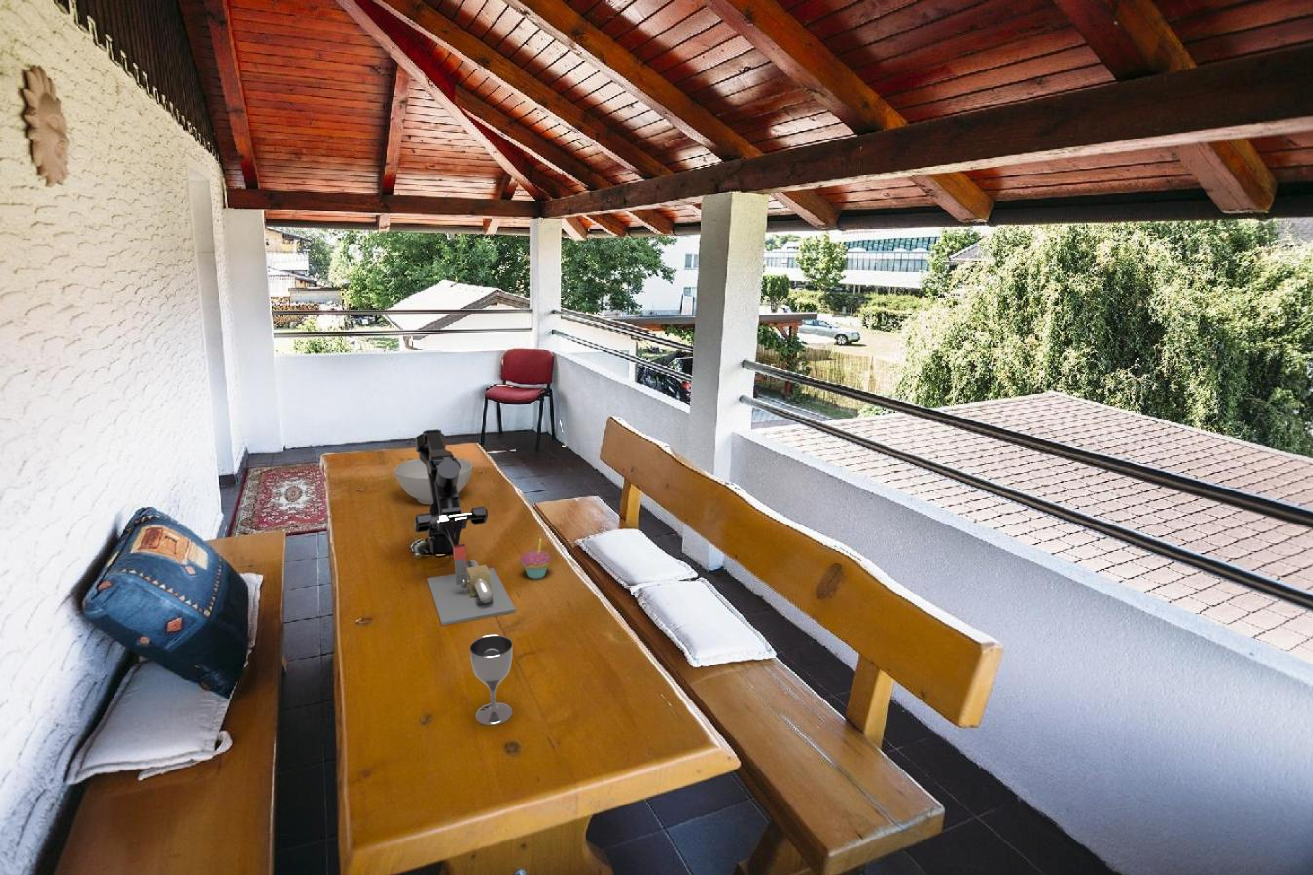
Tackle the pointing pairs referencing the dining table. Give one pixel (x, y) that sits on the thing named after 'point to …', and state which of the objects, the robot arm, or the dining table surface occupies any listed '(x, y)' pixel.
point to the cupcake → (535, 562)
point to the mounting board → (466, 600)
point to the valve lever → (460, 564)
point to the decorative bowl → (425, 478)
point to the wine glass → (492, 674)
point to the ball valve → (479, 582)
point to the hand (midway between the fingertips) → (456, 548)
